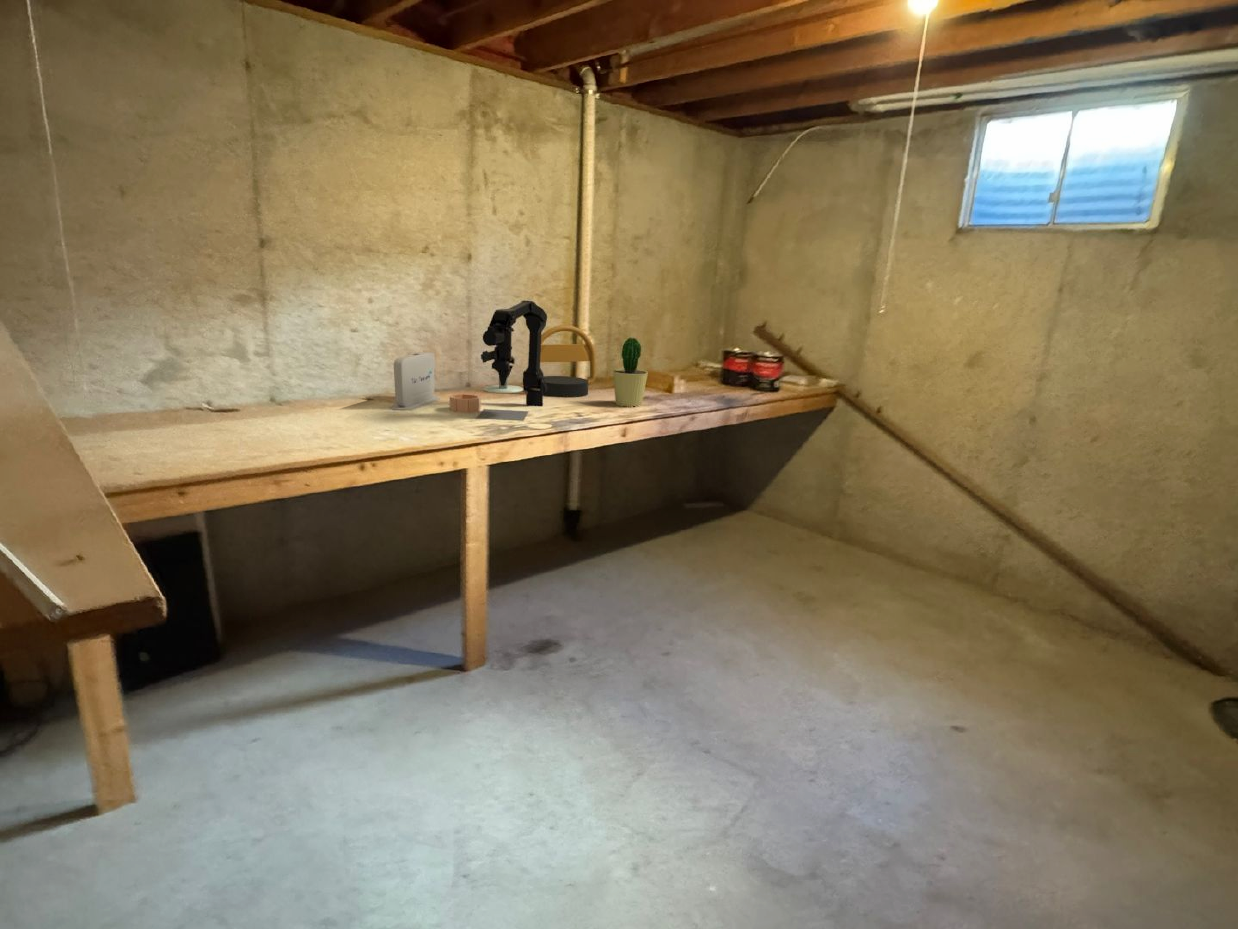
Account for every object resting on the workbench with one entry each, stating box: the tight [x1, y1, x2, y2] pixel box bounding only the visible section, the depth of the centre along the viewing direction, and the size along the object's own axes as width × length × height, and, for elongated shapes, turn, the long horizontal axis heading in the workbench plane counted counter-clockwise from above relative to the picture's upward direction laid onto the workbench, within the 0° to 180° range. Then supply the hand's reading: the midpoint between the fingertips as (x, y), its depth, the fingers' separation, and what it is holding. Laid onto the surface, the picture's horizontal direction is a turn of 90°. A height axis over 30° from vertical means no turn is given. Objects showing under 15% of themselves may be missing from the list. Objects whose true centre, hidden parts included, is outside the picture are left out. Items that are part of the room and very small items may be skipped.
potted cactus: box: [612, 337, 649, 407], centre depth 300 cm, size 15×15×30 cm
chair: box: [540, 324, 597, 399], centre depth 320 cm, size 25×35×32 cm
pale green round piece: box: [482, 377, 524, 394], centre depth 263 cm, size 15×15×6 cm
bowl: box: [449, 393, 482, 413], centre depth 273 cm, size 11×11×6 cm
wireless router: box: [389, 351, 441, 411], centre depth 279 cm, size 31×10×20 cm, turn 168°
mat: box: [475, 408, 530, 422], centre depth 267 cm, size 18×18×1 cm
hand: (503, 384), depth 264 cm, fingers closed on pale green round piece, 3 cm apart
